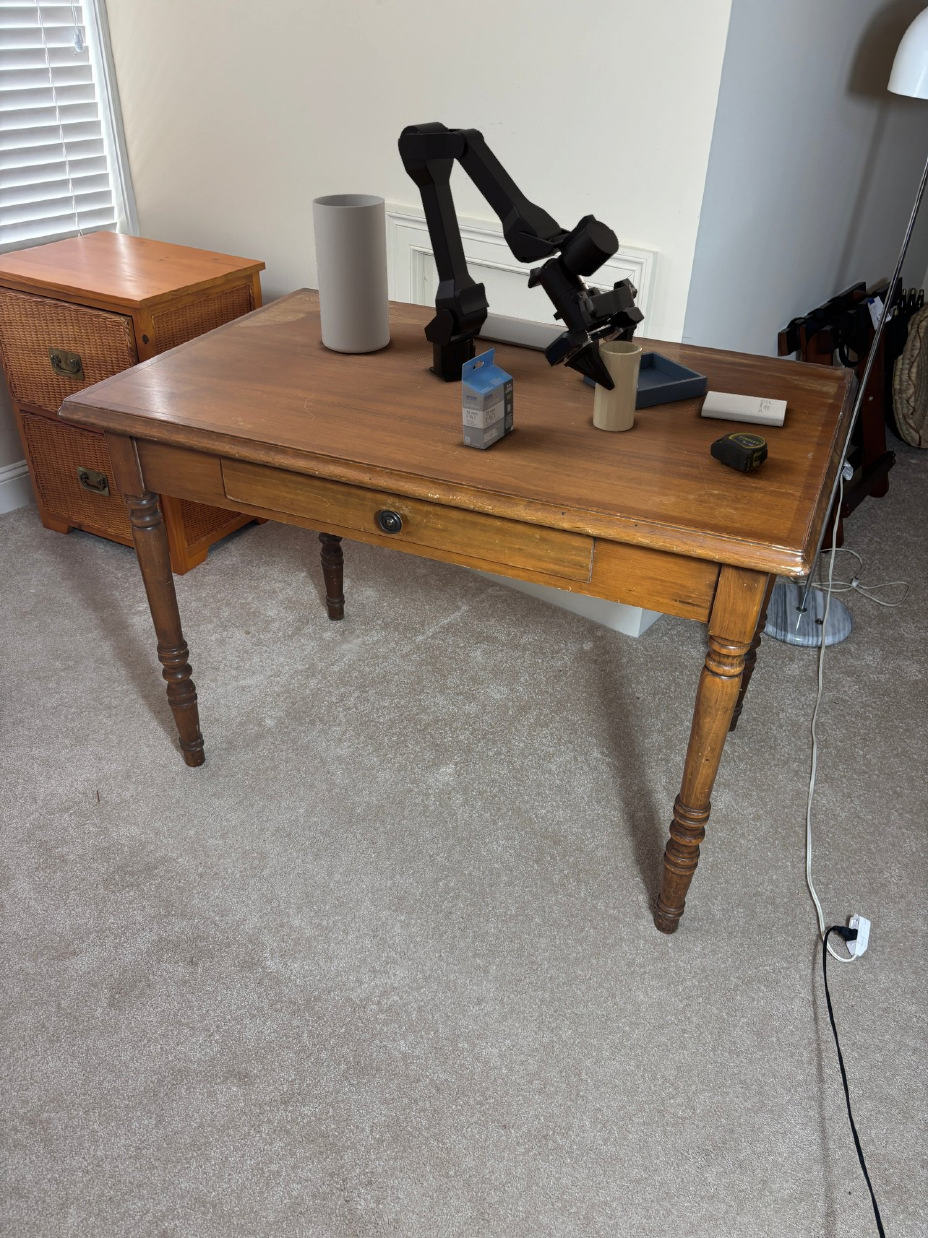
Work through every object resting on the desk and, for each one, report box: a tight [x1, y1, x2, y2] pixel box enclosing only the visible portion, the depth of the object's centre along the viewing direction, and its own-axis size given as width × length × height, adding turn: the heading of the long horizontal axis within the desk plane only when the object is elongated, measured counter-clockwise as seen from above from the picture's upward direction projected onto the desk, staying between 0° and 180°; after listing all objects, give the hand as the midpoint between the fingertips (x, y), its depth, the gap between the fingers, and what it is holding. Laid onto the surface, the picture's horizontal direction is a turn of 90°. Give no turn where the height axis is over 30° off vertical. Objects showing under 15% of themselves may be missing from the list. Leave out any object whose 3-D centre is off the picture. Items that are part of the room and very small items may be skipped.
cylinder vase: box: [311, 193, 391, 354], centre depth 177 cm, size 12×12×25 cm
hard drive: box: [700, 390, 788, 427], centre depth 156 cm, size 2×8×12 cm
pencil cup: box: [592, 341, 642, 432], centre depth 149 cm, size 6×6×12 cm
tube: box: [473, 311, 569, 357], centre depth 182 cm, size 5×5×25 cm
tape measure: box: [709, 431, 769, 473], centre depth 139 cm, size 7×7×4 cm
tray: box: [582, 351, 708, 410], centre depth 165 cm, size 15×15×3 cm
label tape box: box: [461, 347, 515, 450], centre depth 144 cm, size 9×4×12 cm, turn 148°
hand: (624, 383), depth 148 cm, fingers closed on pencil cup, 6 cm apart
